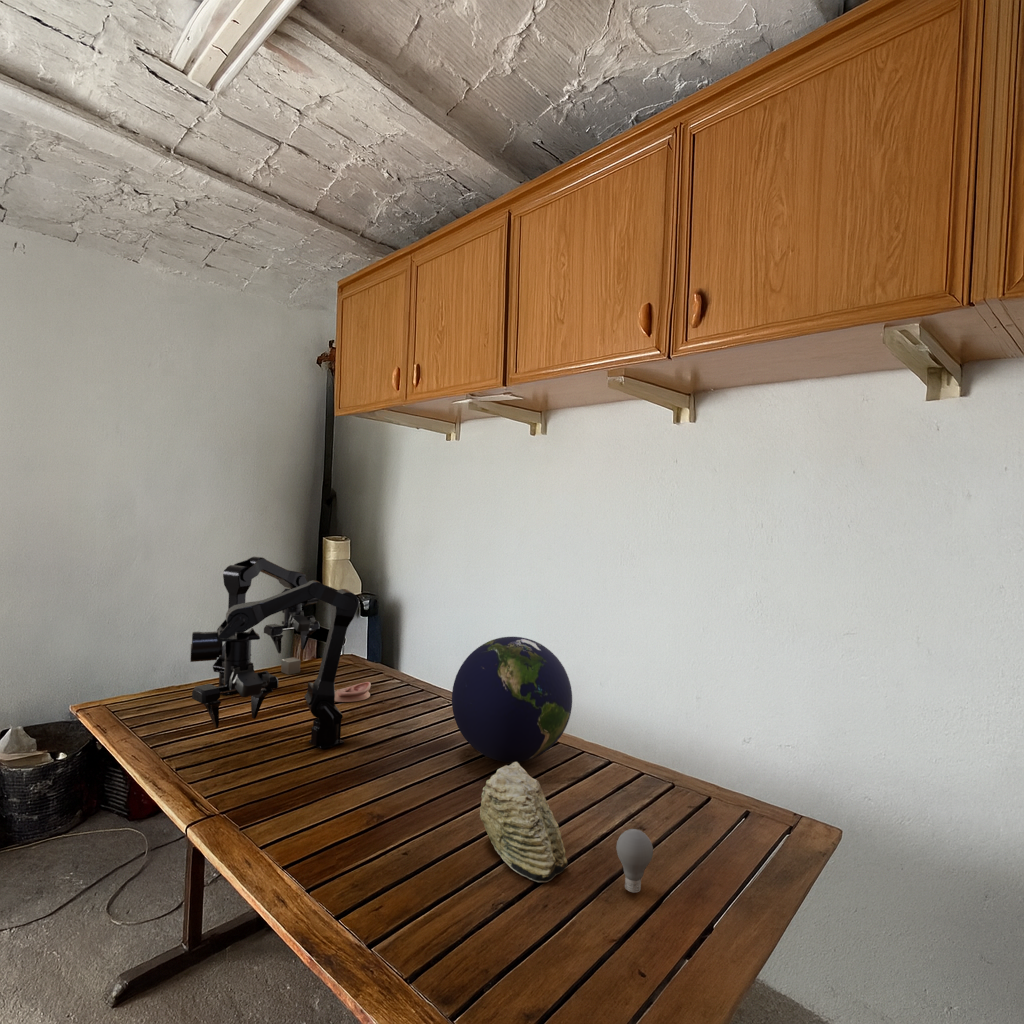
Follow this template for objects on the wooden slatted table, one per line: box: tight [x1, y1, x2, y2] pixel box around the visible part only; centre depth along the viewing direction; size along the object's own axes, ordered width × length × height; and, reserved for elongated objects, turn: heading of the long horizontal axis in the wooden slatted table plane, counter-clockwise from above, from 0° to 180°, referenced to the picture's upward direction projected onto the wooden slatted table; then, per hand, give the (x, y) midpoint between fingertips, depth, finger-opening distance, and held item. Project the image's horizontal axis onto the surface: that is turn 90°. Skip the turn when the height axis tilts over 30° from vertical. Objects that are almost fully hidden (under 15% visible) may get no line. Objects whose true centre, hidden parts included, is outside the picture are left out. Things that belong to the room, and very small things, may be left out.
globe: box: [451, 636, 573, 763], centre depth 158 cm, size 30×30×30 cm
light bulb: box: [615, 828, 654, 894], centre depth 106 cm, size 6×6×10 cm
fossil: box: [479, 762, 569, 883], centre depth 114 cm, size 9×18×15 cm, turn 46°
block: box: [280, 656, 302, 676], centre depth 224 cm, size 5×5×4 cm
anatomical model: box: [334, 681, 372, 703], centre depth 200 cm, size 13×4×12 cm
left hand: (291, 651), depth 224 cm, fingers open, 9 cm apart
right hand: (235, 722), depth 152 cm, fingers open, 9 cm apart
